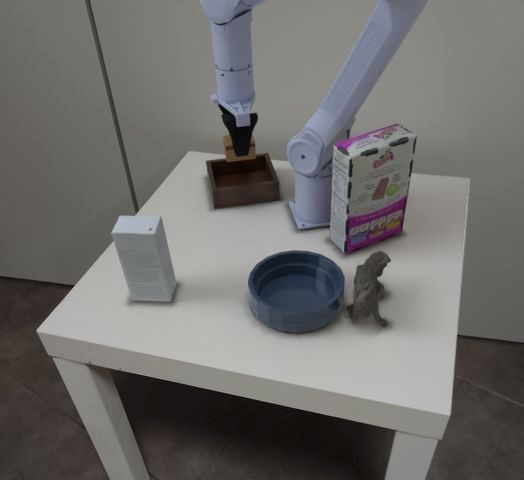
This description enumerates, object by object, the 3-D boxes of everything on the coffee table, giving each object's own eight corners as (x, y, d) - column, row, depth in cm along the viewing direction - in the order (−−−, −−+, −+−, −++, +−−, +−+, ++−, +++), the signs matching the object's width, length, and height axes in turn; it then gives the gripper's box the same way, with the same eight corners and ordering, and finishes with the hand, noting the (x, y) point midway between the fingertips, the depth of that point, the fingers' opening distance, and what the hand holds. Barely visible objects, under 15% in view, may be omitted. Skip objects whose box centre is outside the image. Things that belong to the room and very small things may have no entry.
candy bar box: (384, 218, 90) (398, 121, 78) (402, 233, 87) (420, 135, 75) (326, 239, 87) (331, 141, 75) (344, 256, 84) (352, 156, 72)
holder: (268, 169, 102) (268, 152, 100) (279, 200, 95) (279, 182, 93) (207, 177, 101) (205, 160, 99) (214, 209, 94) (212, 191, 92)
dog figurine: (386, 335, 72) (393, 293, 67) (342, 329, 73) (346, 287, 68) (393, 277, 80) (400, 236, 74) (354, 273, 81) (358, 231, 76)
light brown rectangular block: (252, 148, 94) (251, 131, 92) (256, 158, 92) (255, 141, 90) (224, 152, 94) (222, 135, 92) (226, 162, 91) (225, 145, 89)
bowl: (329, 266, 82) (330, 244, 80) (354, 326, 74) (356, 304, 71) (243, 278, 81) (241, 257, 78) (258, 341, 73) (256, 320, 70)
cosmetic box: (177, 283, 81) (163, 215, 72) (171, 302, 78) (155, 234, 70) (138, 282, 82) (119, 214, 73) (130, 301, 79) (110, 233, 70)
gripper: (202, 50, 86) (212, 132, 97) (212, 86, 77) (222, 173, 87) (246, 45, 87) (251, 127, 97) (261, 80, 77) (265, 168, 87)
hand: (240, 149), depth 92 cm, fingers closed on light brown rectangular block, 3 cm apart
